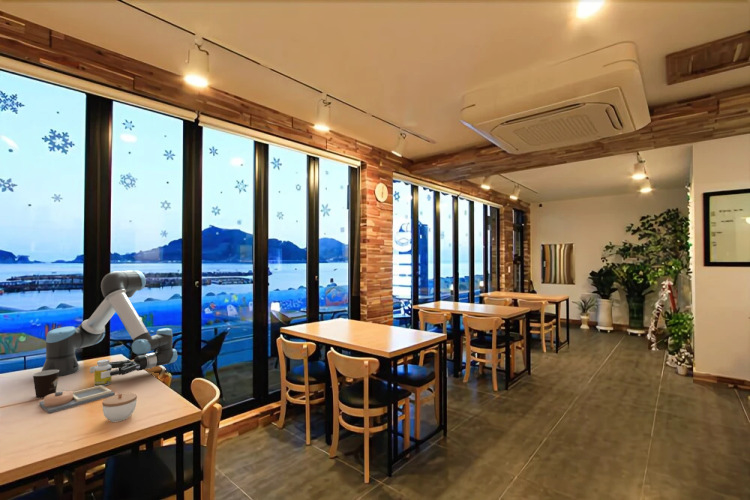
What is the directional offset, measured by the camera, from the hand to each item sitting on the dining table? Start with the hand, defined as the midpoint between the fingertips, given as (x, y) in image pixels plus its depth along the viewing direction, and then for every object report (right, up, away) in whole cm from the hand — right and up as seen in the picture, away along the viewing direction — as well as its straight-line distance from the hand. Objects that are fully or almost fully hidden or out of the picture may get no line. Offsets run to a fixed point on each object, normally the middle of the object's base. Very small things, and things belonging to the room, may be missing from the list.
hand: (95, 372), depth 167 cm
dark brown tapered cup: (-13, -7, -9) cm, 17 cm away
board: (+5, -6, -16) cm, 18 cm away
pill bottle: (+2, -7, +2) cm, 7 cm away
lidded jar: (+36, -6, -33) cm, 49 cm away
